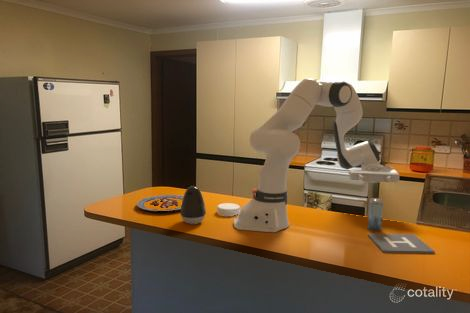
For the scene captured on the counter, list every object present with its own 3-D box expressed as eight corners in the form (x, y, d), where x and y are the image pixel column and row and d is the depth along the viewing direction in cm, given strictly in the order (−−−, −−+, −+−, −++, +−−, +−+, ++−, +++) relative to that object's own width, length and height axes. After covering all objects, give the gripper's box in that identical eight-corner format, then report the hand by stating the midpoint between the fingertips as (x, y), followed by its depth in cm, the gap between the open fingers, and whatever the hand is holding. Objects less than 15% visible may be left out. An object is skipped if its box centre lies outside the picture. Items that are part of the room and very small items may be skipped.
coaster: (229, 218, 154) (229, 210, 153) (212, 213, 160) (212, 206, 160) (244, 213, 162) (244, 205, 161) (227, 208, 168) (227, 201, 167)
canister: (370, 231, 140) (372, 201, 138) (365, 227, 145) (367, 197, 143) (383, 231, 140) (385, 201, 138) (378, 227, 145) (380, 198, 143)
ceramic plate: (125, 207, 168) (125, 201, 167) (167, 196, 188) (167, 190, 188) (163, 219, 153) (163, 212, 152) (204, 205, 173) (204, 199, 172)
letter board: (383, 252, 120) (383, 250, 120) (367, 235, 135) (367, 233, 135) (434, 253, 120) (434, 251, 120) (413, 236, 135) (413, 234, 135)
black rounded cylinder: (176, 225, 145) (175, 188, 143) (187, 217, 155) (186, 182, 152) (199, 228, 142) (199, 190, 140) (209, 219, 152) (209, 184, 149)
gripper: (348, 165, 166) (349, 171, 153) (396, 167, 161) (401, 173, 148) (348, 178, 168) (348, 185, 154) (395, 181, 162) (400, 188, 149)
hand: (375, 179), depth 151 cm, fingers open, 8 cm apart
